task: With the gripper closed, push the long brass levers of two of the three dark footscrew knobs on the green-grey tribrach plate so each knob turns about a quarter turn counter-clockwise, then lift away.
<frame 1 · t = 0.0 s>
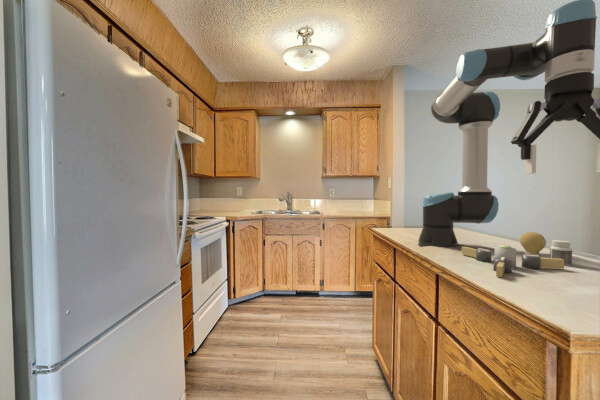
hand: (565, 173, 56), 28 cm above the counter, fingers open, 13 cm apart
pill bottle: (560, 268, 76), on the counter
light bulb: (532, 262, 83), on the counter
knob c: (475, 252, 83), point 3 cm above the counter, hinge at 0.0°
tribrach plate: (504, 270, 74), on the counter
knob b: (542, 261, 72), point 3 cm above the counter, hinge at 0.0°
knob a: (501, 266, 68), point 3 cm above the counter, hinge at 0.0°
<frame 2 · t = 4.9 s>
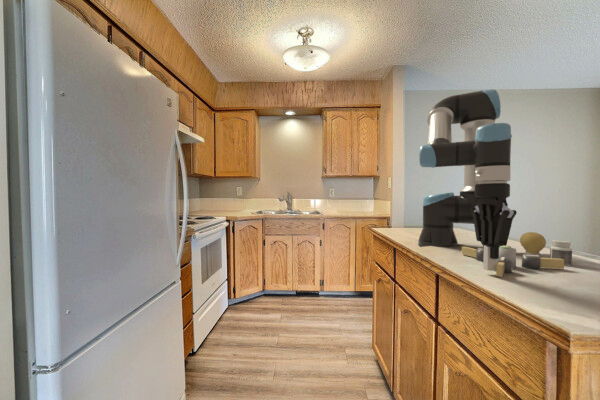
hand: (490, 269, 67), 3 cm above the counter, fingers closed
knob a: (501, 266, 68), point 3 cm above the counter, hinge at 0.0°, touching gripper
everything else where it was.
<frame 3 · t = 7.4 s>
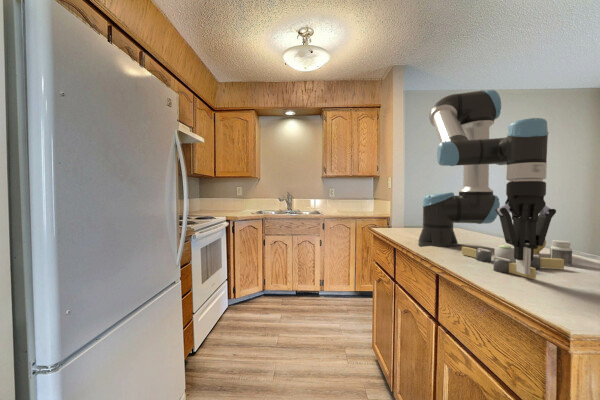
hand: (523, 272, 63), 3 cm above the counter, fingers closed
knob a: (513, 267, 67), point 3 cm above the counter, hinge at 60.8°, touching gripper
everything else where it was.
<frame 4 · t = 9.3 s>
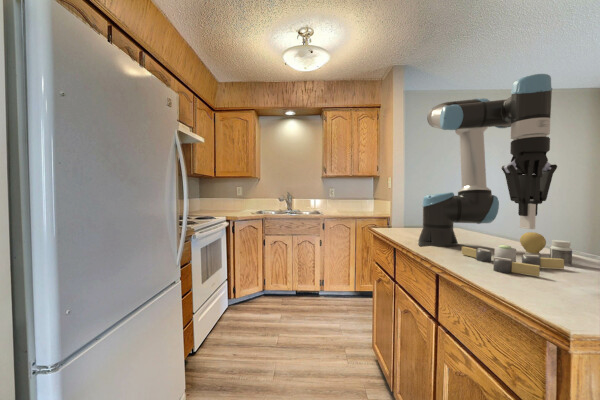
hand: (527, 228, 65), 14 cm above the counter, fingers closed
knob a: (515, 266, 68), point 3 cm above the counter, hinge at 90.4°
everything else where it was.
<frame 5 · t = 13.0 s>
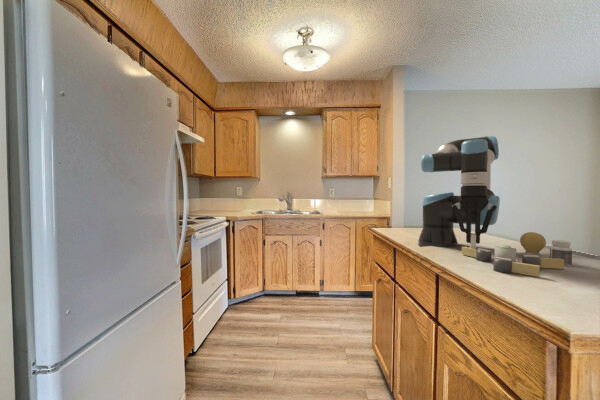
hand: (472, 252, 86), 3 cm above the counter, fingers closed
knob c: (475, 252, 83), point 3 cm above the counter, hinge at 0.0°, touching gripper
knob a: (515, 266, 68), point 3 cm above the counter, hinge at 90.8°
everything else where it was.
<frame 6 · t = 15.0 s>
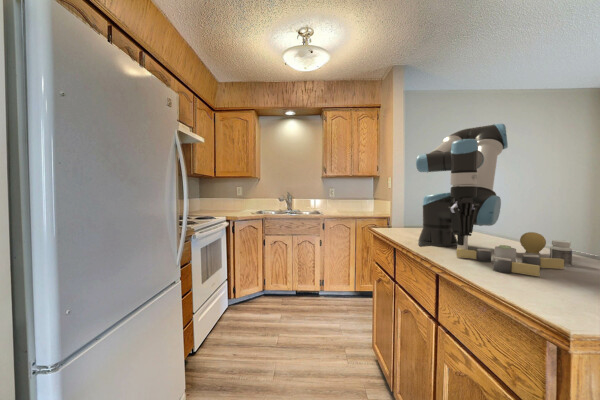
hand: (462, 254, 85), 2 cm above the counter, fingers closed
knob c: (473, 253, 82), point 3 cm above the counter, hinge at 43.4°, touching gripper
everything else where it was.
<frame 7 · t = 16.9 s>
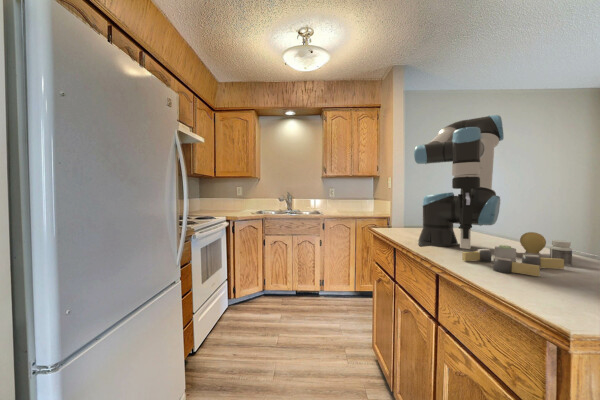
hand: (465, 247, 81), 5 cm above the counter, fingers closed
knob c: (476, 255, 80), point 3 cm above the counter, hinge at 84.2°
everything else where it was.
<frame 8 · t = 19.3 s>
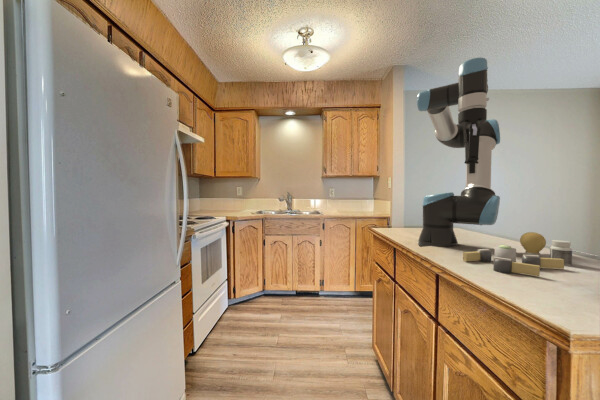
hand: (471, 183, 80), 26 cm above the counter, fingers closed
knob c: (476, 255, 80), point 3 cm above the counter, hinge at 86.6°
everything else where it was.
at the end: knob a at +91° (first picture: +0°); knob c at +87° (first picture: +0°) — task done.
